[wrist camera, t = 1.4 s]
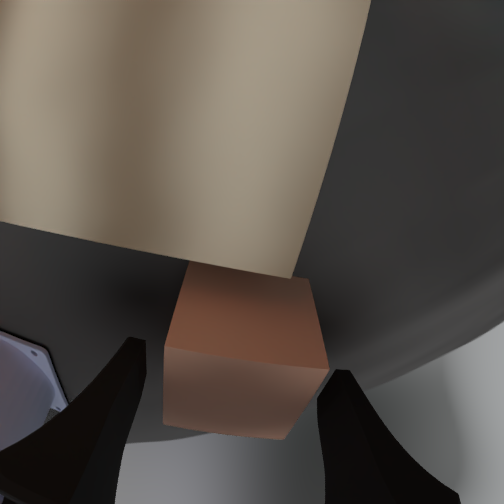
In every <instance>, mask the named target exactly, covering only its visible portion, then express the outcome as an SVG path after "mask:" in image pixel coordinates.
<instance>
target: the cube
mask: <svg viewBox="0 0 504 504" xmlns="http://www.w3.org/2000/svg"><path fill="white" fill-rule="evenodd" d="M329 370H330V369H329V364H328V360H327V355H326V350H325V346H324V342H323V337H322V333H321V328H320V324H319V320H318V316H317V311H316V307H315V303H314V299H313V295H312V291H311V287H310V282H309V279H306V278H300V277H295V276H292V277H291V279H289V278H283V277H277V276H272V275H266V274H261V273H255V272H250V271H244V270H239V269H233V268H228V267H222V266H217V265H212V264H206V263H201V262H196V261H191V260H190V261H189V264H188V267H187V271H186V274H185V277H184V280H183V284H182V287H181V290H180V294H179V297H178V300H177V304H176V307H175V310H174V314H173V317H172V321H171V324H170V328H169V331H168V335H167V339H166V342H165V346H164V376H163V424H165V425H170V426H175V427H180V428H186V429H191V430H197V431H204V432H210V433H218V434H225V435H234V436H244V437H254V438H267V439H282V440H283V439H284V438H285V437H286V436H287V434H288V433H289V431H290V430H291V428H292V427H293V426H294V424H295V423H296V421H297V420H298V418H299V417H300V415H301V414H302V412H303V411H304V409H305V408H306V406H307V405H308V403H309V402H310V400H311V399H312V397H313V395H314V394H315V392H316V391H317V389H318V388H319V386H320V384H321V383H322V381H323V380H324V378H325V376H326V375H327V373H328V371H329Z"/></svg>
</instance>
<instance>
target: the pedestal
mask: <svg viewBox="0 0 504 504" xmlns="http://www.w3.org/2000/svg"><path fill="white" fill-rule="evenodd" d="M370 2H371V0H0V221H2V222H7V223H11V224H16V225H20V226H25V227H29V228H34V229H38V230H43V231H48V232H52V233H57V234H62V235H66V236H71V237H76V238H81V239H85V240H90V241H95V242H100V243H105V244H110V245H115V246H120V247H124V248H129V249H134V250H139V251H144V252H150V253H155V254H160V255H165V256H170V257H175V258H180V259H185V260H191V261H196V262H201V263H206V264H212V265H217V266H222V267H228V268H233V269H239V270H244V271H250V272H255V273H261V274H266V275H272V276H277V277H283V278H289V279H291V277H292V274H293V271H294V268H295V265H296V262H297V259H298V256H299V253H300V250H301V247H302V244H303V241H304V238H305V235H306V232H307V229H308V226H309V223H310V219H311V216H312V213H313V210H314V207H315V204H316V201H317V197H318V194H319V191H320V188H321V184H322V181H323V178H324V175H325V171H326V168H327V165H328V161H329V158H330V155H331V151H332V148H333V144H334V141H335V138H336V134H337V131H338V127H339V124H340V120H341V116H342V113H343V109H344V106H345V102H346V98H347V95H348V91H349V87H350V84H351V80H352V76H353V72H354V68H355V64H356V61H357V57H358V53H359V49H360V45H361V41H362V36H363V32H364V28H365V24H366V20H367V15H368V11H369V7H370Z"/></svg>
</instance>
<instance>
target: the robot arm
mask: <svg viewBox="0 0 504 504" xmlns="http://www.w3.org/2000/svg"><path fill="white" fill-rule="evenodd" d="M146 374H147V373H146V340H142V339H138V338H133V337H128V338H127V339H126V340H125V342H124V343H123V344H122V346H121V347H120V349H119V350H118V351H117V353H116V354H115V355H114V356H113V358H112V359H111V360H110V361H109V363H108V364H107V365H106V366H105V367H104V368H103V370H102V371H101V372H100V373H99V374H98V375H97V377H96V378H95V379H94V380H93V381H92V382H91V383H90V384H89V385H88V386H87V387H86V388H85V389H84V390H83V391H82V392H81V393H80V394H79V395H78V396H77V397H76V398H75V399H74V400H73V401H72V402H71V403H70V404H69V405H68V403H67V400H66V398H65V396H64V393H63V391H62V388H61V386H60V383H59V381H58V378H57V376H56V373H55V370H54V368H53V365H52V362H51V359H50V356H49V354H48V352H47V351H46V349H44V348H43V347H41V346H38V345H35V344H32V343H30V342H27V341H24V340H22V339H19V338H17V337H14V336H12V335H9V334H7V333H5V332H2V331H0V504H115V496H116V489H117V483H118V477H119V470H120V466H121V460H122V455H123V451H124V447H125V444H126V441H127V438H128V434H129V431H130V428H131V426H132V423H133V420H134V417H135V414H136V411H137V408H138V405H139V402H140V399H141V396H142V391H143V387H144V382H145V378H146ZM50 408H52V409H55V410H57V411H60V413H58V414H57V415H56V416H55V417H53V418H52V419H51V420H50V421H48V422H47V423H46V424H44V421H45V419H46V416H47V414H48V412H49V409H50ZM317 418H318V428H319V434H320V441H321V447H322V454H323V461H324V468H325V504H461V502H460V498H459V495H458V493H456V492H455V491H453V490H452V489H450V488H449V487H447V486H445V485H444V484H442V483H441V482H440V481H438V480H437V479H436V478H435V477H433V476H432V475H431V474H429V473H428V472H427V471H426V470H425V469H423V467H422V466H420V465H419V464H418V463H417V462H416V461H415V460H414V459H413V458H412V457H411V456H410V455H409V454H408V453H407V452H406V451H405V449H404V448H403V447H402V446H401V445H400V444H399V442H398V441H397V440H396V439H395V438H394V436H393V435H392V434H391V432H390V431H389V430H388V428H387V427H386V426H385V425H384V423H383V422H382V420H381V419H380V417H379V416H378V414H377V413H376V411H375V410H374V408H373V407H372V405H371V404H370V402H369V400H368V399H367V397H366V396H365V394H364V392H363V391H362V389H361V388H360V386H359V384H358V383H357V381H356V379H355V378H354V376H353V375H352V373H351V372H350V370H338V369H336V370H335V371H334V373H333V375H332V376H331V378H330V379H329V381H328V382H327V384H326V385H325V387H324V389H323V390H322V392H321V393H320V395H319V396H318V398H317ZM43 424H44V425H43Z"/></svg>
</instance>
